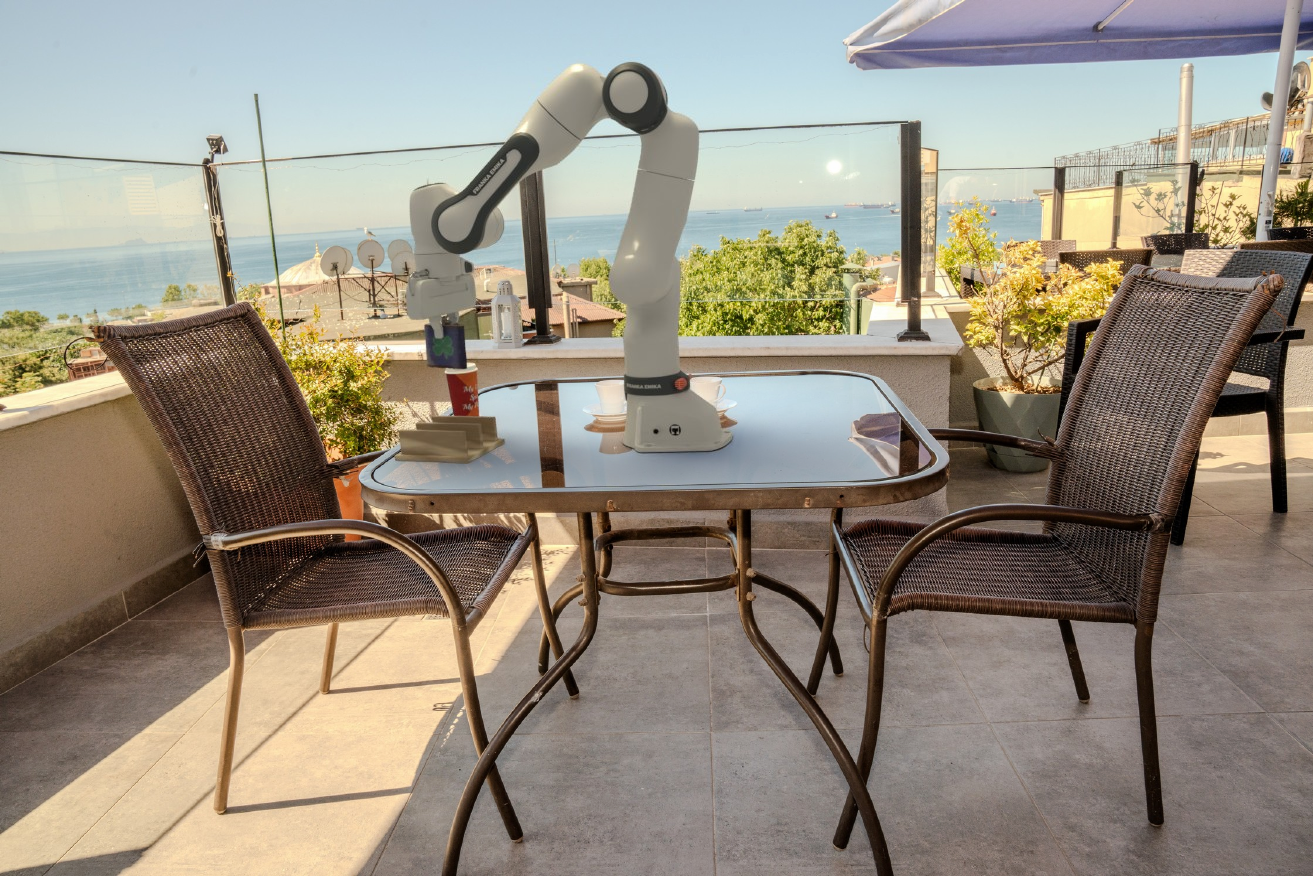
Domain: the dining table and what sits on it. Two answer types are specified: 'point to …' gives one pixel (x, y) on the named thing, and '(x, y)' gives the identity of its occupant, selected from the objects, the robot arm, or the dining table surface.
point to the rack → (449, 439)
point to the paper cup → (463, 390)
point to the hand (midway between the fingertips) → (446, 336)
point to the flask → (446, 346)
